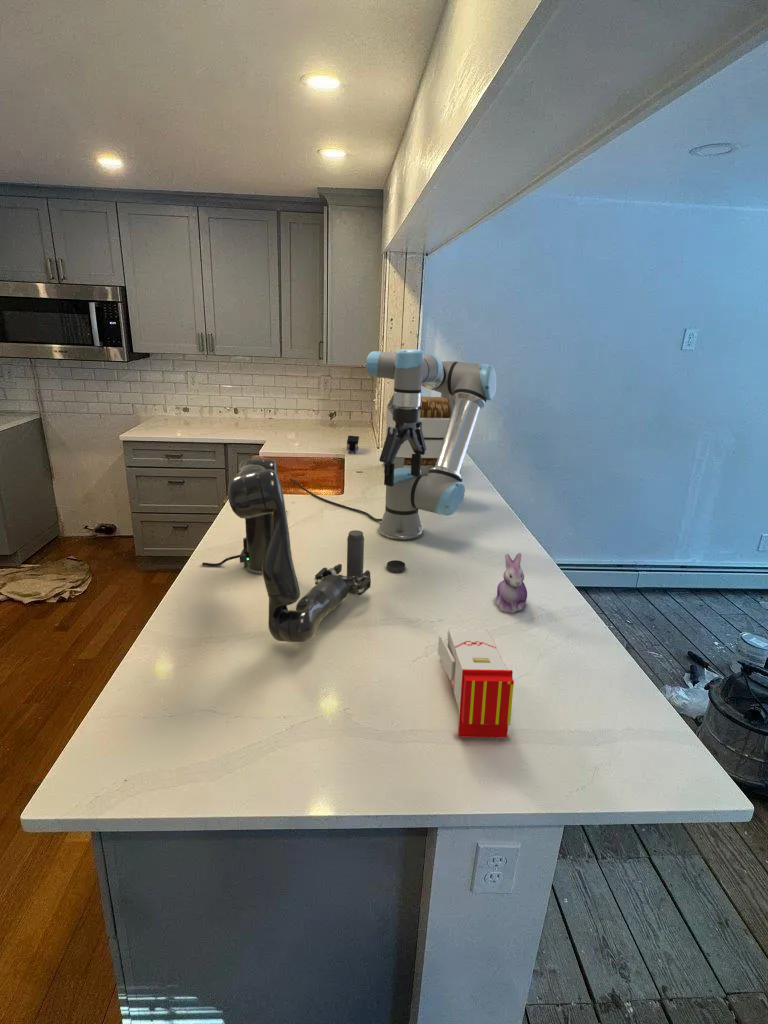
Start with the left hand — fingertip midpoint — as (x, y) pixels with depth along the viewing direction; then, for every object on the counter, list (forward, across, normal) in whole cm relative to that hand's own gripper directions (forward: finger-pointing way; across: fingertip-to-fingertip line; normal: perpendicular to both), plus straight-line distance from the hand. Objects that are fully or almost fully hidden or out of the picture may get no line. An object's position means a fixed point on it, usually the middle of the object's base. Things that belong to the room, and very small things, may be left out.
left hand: (354, 570), depth 157 cm
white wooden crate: (+124, +23, +6) cm, 126 cm away
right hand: (+19, -6, -22) cm, 30 cm away
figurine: (+11, -42, +6) cm, 44 cm away
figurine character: (+145, +70, +6) cm, 161 cm away
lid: (+18, -6, +5) cm, 20 cm away
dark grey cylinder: (0, 0, +6) cm, 6 cm away
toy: (-30, -41, +6) cm, 51 cm away
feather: (+43, +49, +6) cm, 65 cm away
